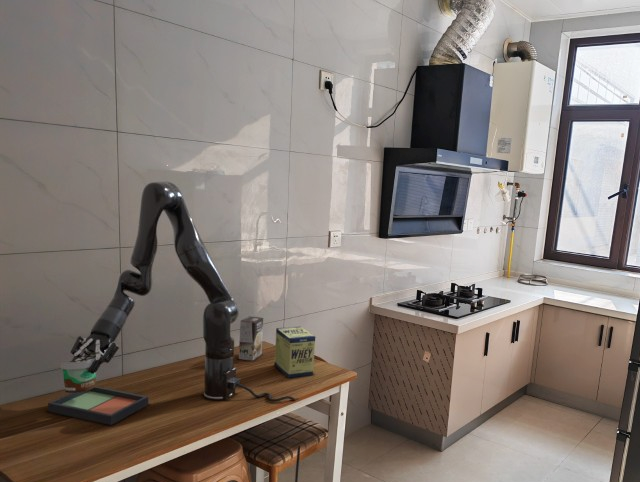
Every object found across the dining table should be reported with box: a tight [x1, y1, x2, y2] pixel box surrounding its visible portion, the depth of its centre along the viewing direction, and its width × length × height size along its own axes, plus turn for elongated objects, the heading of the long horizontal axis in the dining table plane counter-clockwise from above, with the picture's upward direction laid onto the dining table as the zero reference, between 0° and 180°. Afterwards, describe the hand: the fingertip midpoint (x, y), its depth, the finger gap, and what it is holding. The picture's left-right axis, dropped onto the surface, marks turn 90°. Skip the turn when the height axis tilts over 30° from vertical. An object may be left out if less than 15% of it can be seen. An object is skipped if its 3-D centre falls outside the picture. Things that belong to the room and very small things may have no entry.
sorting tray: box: [47, 385, 149, 426], centre depth 169 cm, size 22×16×3 cm
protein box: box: [273, 326, 316, 379], centre depth 215 cm, size 10×16×16 cm
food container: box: [60, 353, 97, 394], centre depth 168 cm, size 12×6×10 cm, turn 169°
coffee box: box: [238, 315, 264, 362], centre depth 225 cm, size 9×6×16 cm
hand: (81, 370), depth 166 cm, fingers closed on food container, 6 cm apart
